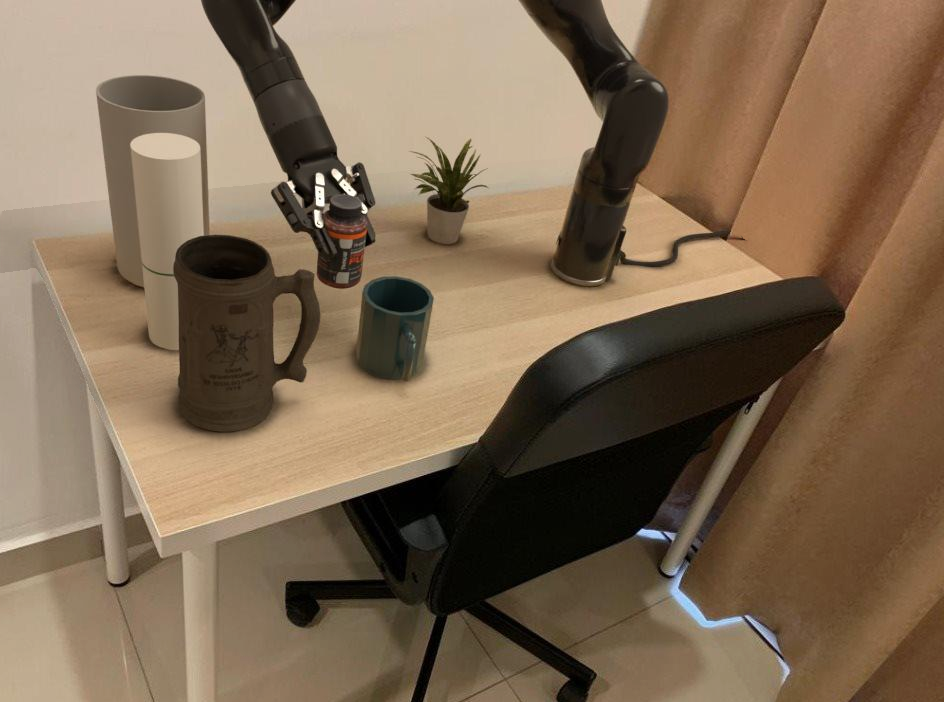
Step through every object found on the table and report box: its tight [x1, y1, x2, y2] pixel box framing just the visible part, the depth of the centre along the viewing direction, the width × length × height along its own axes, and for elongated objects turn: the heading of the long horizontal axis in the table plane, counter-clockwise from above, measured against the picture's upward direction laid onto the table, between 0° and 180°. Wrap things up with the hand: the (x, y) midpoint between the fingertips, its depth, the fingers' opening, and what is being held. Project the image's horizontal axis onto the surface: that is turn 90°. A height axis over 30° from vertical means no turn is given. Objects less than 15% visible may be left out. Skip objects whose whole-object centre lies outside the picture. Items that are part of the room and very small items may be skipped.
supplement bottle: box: [316, 194, 367, 290], centre depth 99 cm, size 6×6×11 cm
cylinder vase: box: [95, 74, 211, 288], centre depth 102 cm, size 12×12×25 cm
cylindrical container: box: [130, 133, 204, 351], centre depth 91 cm, size 7×7×25 cm
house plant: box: [409, 136, 489, 245], centre depth 127 cm, size 14×14×16 cm
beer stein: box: [173, 234, 322, 432], centre depth 85 cm, size 15×11×20 cm
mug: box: [355, 275, 435, 382], centre depth 97 cm, size 12×9×10 cm
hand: (351, 250), depth 98 cm, fingers closed on supplement bottle, 6 cm apart
